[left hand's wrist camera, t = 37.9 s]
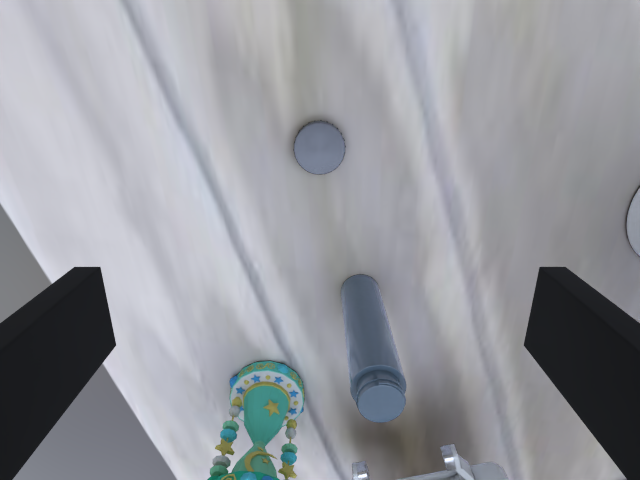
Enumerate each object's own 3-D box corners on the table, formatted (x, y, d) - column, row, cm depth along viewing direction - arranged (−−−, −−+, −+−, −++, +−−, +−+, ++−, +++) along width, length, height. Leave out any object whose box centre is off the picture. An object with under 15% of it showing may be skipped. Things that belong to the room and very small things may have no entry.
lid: (346, 121, 45) (347, 123, 43) (342, 172, 47) (343, 176, 45) (295, 118, 45) (294, 120, 43) (293, 169, 47) (292, 173, 45)
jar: (378, 308, 54) (408, 427, 35) (340, 308, 54) (351, 427, 35) (380, 274, 52) (413, 380, 33) (341, 274, 52) (352, 380, 33)
